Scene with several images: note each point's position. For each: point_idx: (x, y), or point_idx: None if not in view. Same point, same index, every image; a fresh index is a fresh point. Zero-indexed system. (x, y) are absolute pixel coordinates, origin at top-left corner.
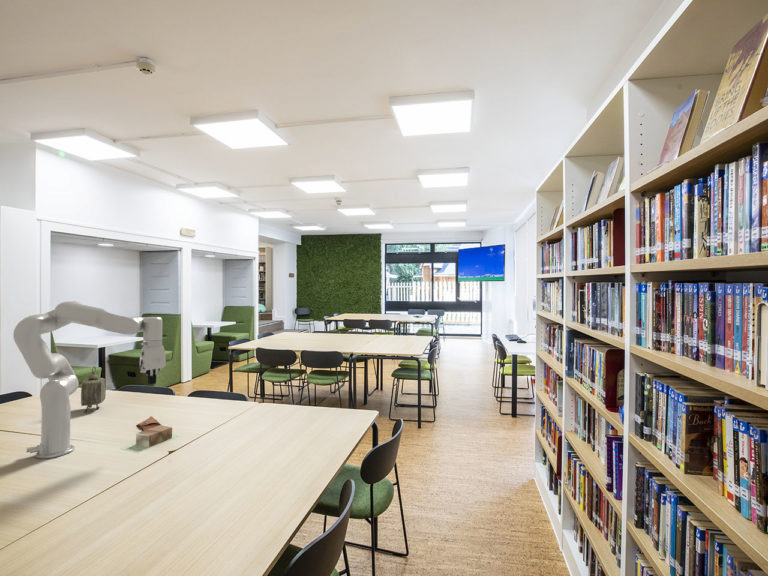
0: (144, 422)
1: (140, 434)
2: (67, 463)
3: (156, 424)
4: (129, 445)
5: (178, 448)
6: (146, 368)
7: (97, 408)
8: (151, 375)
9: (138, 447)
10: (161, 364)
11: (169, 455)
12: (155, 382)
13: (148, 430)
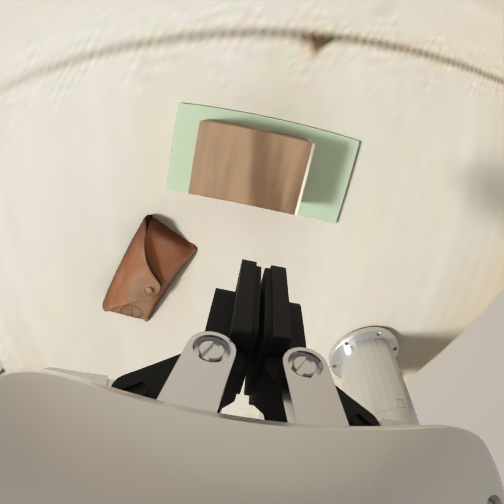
0: (146, 298)
1: (303, 190)
2: (424, 280)
3: (147, 246)
4: (305, 215)
5: (287, 35)
6: (483, 447)
7: None
8: (302, 356)
9: (317, 172)
10: (87, 456)
11: (348, 30)
12: (248, 266)
13: (257, 191)
